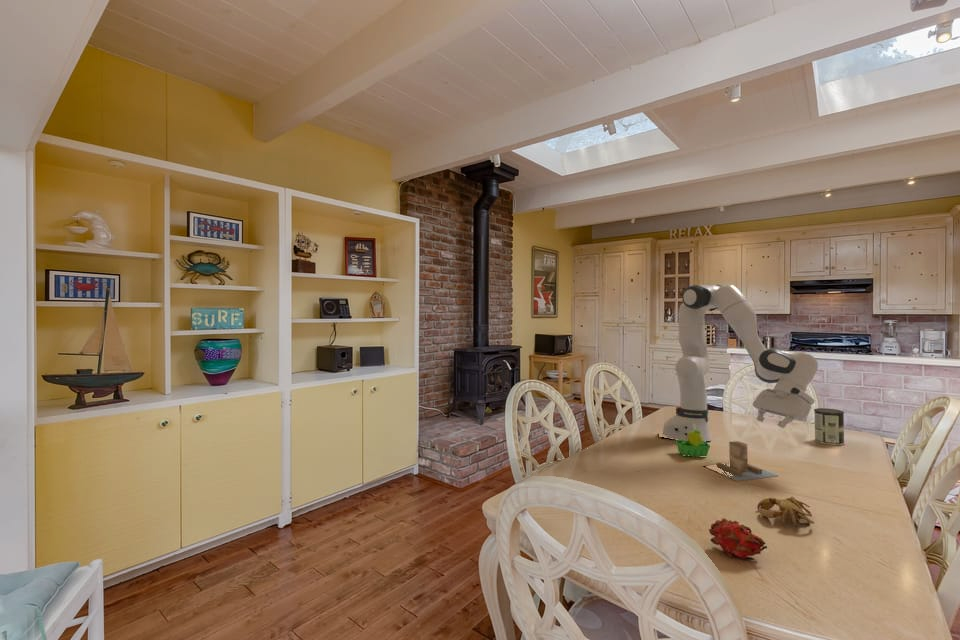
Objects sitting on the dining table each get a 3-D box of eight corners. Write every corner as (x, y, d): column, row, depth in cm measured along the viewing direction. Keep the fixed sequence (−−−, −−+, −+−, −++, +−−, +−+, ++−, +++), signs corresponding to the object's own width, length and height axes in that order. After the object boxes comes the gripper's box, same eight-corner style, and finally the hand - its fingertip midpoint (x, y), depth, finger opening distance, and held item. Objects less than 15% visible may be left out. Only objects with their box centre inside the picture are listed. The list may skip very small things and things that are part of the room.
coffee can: (831, 438, 195) (831, 407, 195) (850, 445, 185) (850, 412, 185) (808, 439, 196) (808, 408, 196) (826, 445, 185) (826, 413, 185)
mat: (741, 461, 167) (741, 457, 167) (778, 476, 151) (778, 471, 151) (701, 465, 163) (701, 461, 163) (736, 481, 147) (736, 476, 147)
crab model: (757, 504, 130) (756, 486, 130) (810, 513, 123) (809, 494, 123) (757, 525, 117) (756, 505, 117) (816, 536, 110) (816, 515, 110)
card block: (738, 467, 160) (738, 441, 159) (747, 471, 156) (747, 444, 156) (729, 468, 159) (729, 441, 159) (738, 472, 155) (738, 445, 155)
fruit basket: (703, 452, 179) (702, 425, 179) (712, 459, 170) (712, 431, 170) (674, 452, 180) (674, 425, 180) (682, 459, 171) (682, 430, 171)
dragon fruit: (705, 550, 107) (762, 574, 100) (703, 543, 101) (763, 567, 94) (713, 516, 110) (768, 537, 103) (711, 507, 105) (770, 529, 97)
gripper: (759, 383, 170) (741, 413, 168) (806, 391, 149) (787, 425, 148) (770, 392, 170) (753, 421, 169) (819, 401, 150) (800, 435, 149)
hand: (769, 423), depth 158 cm, fingers open, 8 cm apart
